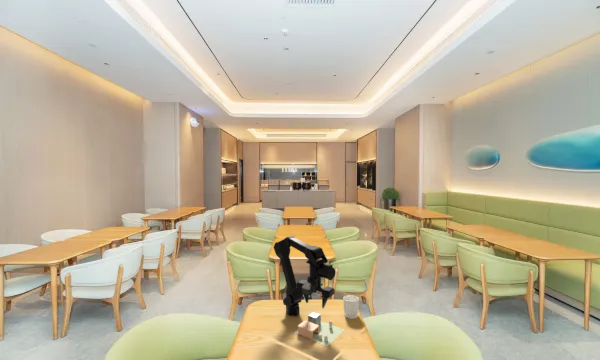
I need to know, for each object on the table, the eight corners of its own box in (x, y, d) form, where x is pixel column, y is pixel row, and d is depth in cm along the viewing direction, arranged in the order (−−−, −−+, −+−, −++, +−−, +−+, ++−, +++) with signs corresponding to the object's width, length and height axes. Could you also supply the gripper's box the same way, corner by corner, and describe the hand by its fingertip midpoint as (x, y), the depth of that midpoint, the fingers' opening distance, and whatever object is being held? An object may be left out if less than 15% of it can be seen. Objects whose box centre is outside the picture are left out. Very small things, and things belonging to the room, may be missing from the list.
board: (294, 334, 138) (294, 325, 138) (313, 320, 151) (313, 311, 151) (327, 348, 127) (327, 338, 127) (345, 331, 140) (345, 322, 140)
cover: (297, 333, 137) (297, 325, 137) (305, 327, 142) (305, 320, 142) (311, 339, 132) (311, 331, 132) (319, 333, 137) (319, 325, 137)
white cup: (358, 321, 149) (358, 302, 149) (342, 320, 151) (342, 300, 150) (358, 314, 157) (358, 295, 156) (343, 312, 158) (343, 294, 158)
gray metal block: (308, 325, 144) (308, 315, 144) (313, 321, 148) (313, 311, 147) (315, 328, 141) (315, 318, 141) (320, 324, 145) (320, 314, 145)
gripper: (289, 274, 142) (289, 306, 143) (323, 284, 131) (323, 318, 132) (302, 267, 151) (302, 297, 152) (335, 276, 140) (335, 308, 141)
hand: (315, 305), depth 144 cm, fingers open, 9 cm apart
